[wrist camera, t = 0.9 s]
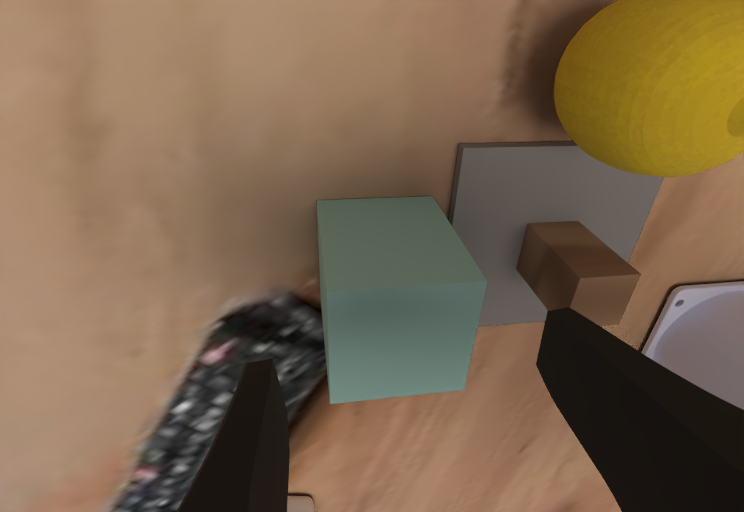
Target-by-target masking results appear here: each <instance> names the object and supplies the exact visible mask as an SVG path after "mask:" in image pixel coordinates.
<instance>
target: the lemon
mask: <svg viewBox="0 0 744 512" xmlns="http://www.w3.org/2000/svg"><path fill="white" fill-rule="evenodd" d="M554 101H555V107H556V112H557V115H558V117H559V120H560V122H561V124H562V126H563V128H564V130H565V131H566V133H567V135H568V136H569V137H570V138H571V139H572V140H573V141H574V142H575V143H576V144H577V145H578V146H579V147H580V148H581V149H582V150H583V151H584V152H585V153H586V154H588V155H589V156H591V157H592V158H594V159H596V160H598V161H601V162H603V163H605V164H607V165H609V166H611V167H613V168H616V169H619V170H622V171H625V172H629V173H634V174H640V175H648V176H657V177H677V176H684V175H691V174H696V173H700V172H703V171H706V170H708V169H711V168H714V167H716V166H719V165H721V164H724V163H726V162H727V161H729V160H731V159H732V158H734V157H736V156H737V155H739V154H741V153H742V152H744V0H618V1H616V2H614V3H612V4H611V5H609V6H607V7H605V8H603V9H602V10H600V11H599V12H598V13H597V14H596V15H594V16H593V17H592V18H591V19H590V20H588V21H587V22H586V23H585V24H584V25H583V26H582V27H581V28H580V30H579V31H578V32H577V33H576V35H575V36H574V37H573V38H572V40H571V41H570V42H569V44H568V46H567V48H566V50H565V51H564V53H563V55H562V57H561V59H560V62H559V65H558V69H557V72H556V75H555V84H554Z"/></svg>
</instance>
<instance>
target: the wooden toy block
mask: <svg viewBox="0 0 744 512" xmlns="http://www.w3.org/2000/svg"><path fill="white" fill-rule="evenodd" d="M516 270H517V271H518V272H519V274H520V275H521V276H522V277H523V279H524V280H525V281H526V283H527V284H528V285H529V287H530V288H531V289H532V290H533V292H534V293H535V294H536V296H537V297H538V298H539V300H540V301H541V302H542V303H543V305H544V306H545V307H546V309H547V310H548V311H550V310H556V309H561V308H567V307H570V308H572V309H573V310H575V311H577V312H578V313H580V314H581V315H583V316H585V317H586V318H588V319H589V320H591V321H592V322H594V323H595V324H597V325H599V326H605V325H616V324H619V322H620V320H621V318H622V315H623V313H624V311H625V309H626V306H627V304H628V302H629V300H630V297H631V295H632V293H633V291H634V288H635V286H636V284H637V282H638V279H639V277H640V275H641V274H640V273H639V272H638V271H636V270H635V269H634V268H633V267H632V266H631V265H629V264H628V263H627V262H626V261H625V260H624V259H622V258H621V257H620V256H619V255H618V254H617V253H615V252H614V251H613V250H612V249H611V248H609V247H608V246H607V245H606V244H605V243H604V242H602V241H601V240H600V239H599V238H598V237H597V236H595V235H594V234H593V233H592V232H591V231H590V230H588V229H587V228H586V227H585V226H584V225H583V224H581V223H580V222H579V221H564V222H543V223H527V227H526V231H525V235H524V239H523V243H522V247H521V251H520V255H519V259H518V263H517V267H516Z"/></svg>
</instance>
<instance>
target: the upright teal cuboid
mask: <svg viewBox="0 0 744 512" xmlns="http://www.w3.org/2000/svg"><path fill="white" fill-rule="evenodd" d="M317 224H318V250H319V275H320V297H321V308H322V319H323V330H324V341H325V352H326V363H327V374H328V385H329V396H330V404H335V403H345V402H354V401H364V400H373V399H382V398H392V397H401V396H411V395H420V394H430V393H439V392H448V391H458V390H464V388H465V383H466V379H467V374H468V369H469V365H470V360H471V355H472V351H473V346H474V341H475V337H476V332H477V327H478V323H479V318H480V313H481V309H482V304H483V299H484V295H485V290H486V285H487V280H486V278H485V277H484V275H483V274H482V272H481V271H480V269H479V268H478V266H477V264H476V263H475V261H474V260H473V258H472V257H471V255H470V254H469V252H468V250H467V249H466V247H465V246H464V244H463V243H462V241H461V240H460V238H459V236H458V235H457V233H456V232H455V230H454V229H453V227H452V226H451V224H450V222H449V221H448V219H447V218H446V216H445V215H444V213H443V212H442V210H441V208H440V207H439V205H438V204H437V202H436V201H435V199H434V198H433V196H420V197H393V198H367V199H340V200H317Z"/></svg>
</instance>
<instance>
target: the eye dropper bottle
mask: <svg viewBox="0 0 744 512" xmlns="http://www.w3.org/2000/svg"><path fill="white" fill-rule="evenodd" d="M287 512H315V508H314V503H313V500H312V498H310V497H308V496H288V500H287Z"/></svg>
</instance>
